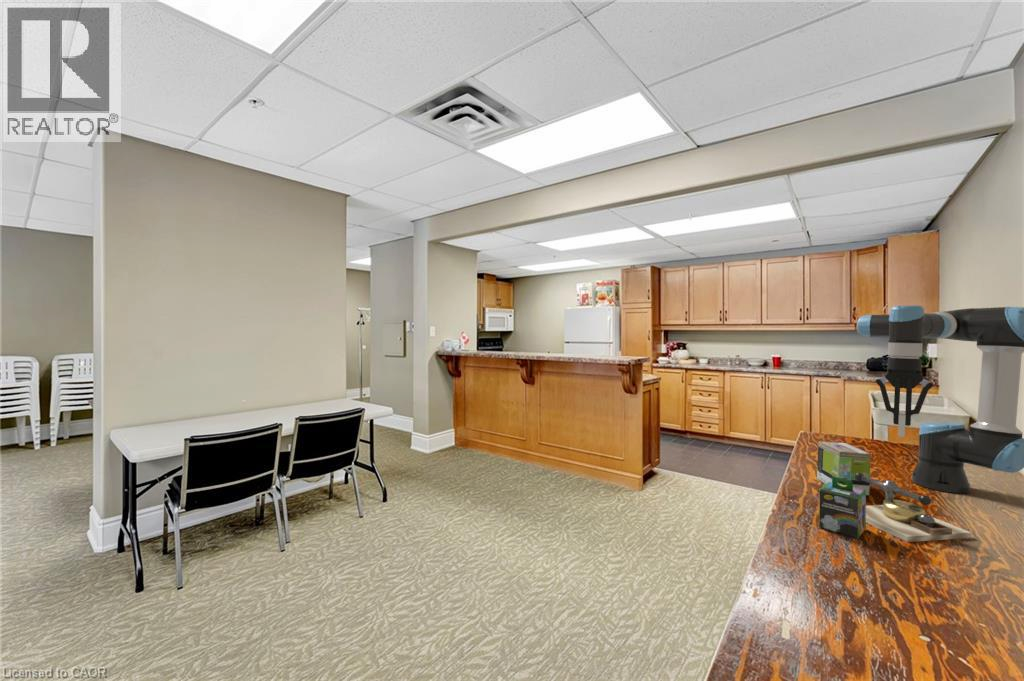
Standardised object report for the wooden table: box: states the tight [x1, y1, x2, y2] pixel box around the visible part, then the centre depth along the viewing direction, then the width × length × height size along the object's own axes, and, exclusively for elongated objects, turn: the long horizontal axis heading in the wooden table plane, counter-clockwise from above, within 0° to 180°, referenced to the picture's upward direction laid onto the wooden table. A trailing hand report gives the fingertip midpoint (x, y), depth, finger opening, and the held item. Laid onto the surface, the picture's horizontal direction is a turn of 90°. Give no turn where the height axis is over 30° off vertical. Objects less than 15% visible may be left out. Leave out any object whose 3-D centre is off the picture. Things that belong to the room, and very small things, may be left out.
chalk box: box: [818, 477, 867, 540], centre depth 121 cm, size 9×9×15 cm
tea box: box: [816, 441, 872, 496], centre depth 154 cm, size 15×10×15 cm, turn 168°
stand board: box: [866, 504, 972, 543], centre depth 124 cm, size 20×19×3 cm
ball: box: [918, 513, 935, 527], centre depth 119 cm, size 4×4×4 cm
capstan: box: [854, 473, 933, 523], centre depth 129 cm, size 22×9×9 cm, turn 9°
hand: (901, 435), depth 127 cm, fingers closed
